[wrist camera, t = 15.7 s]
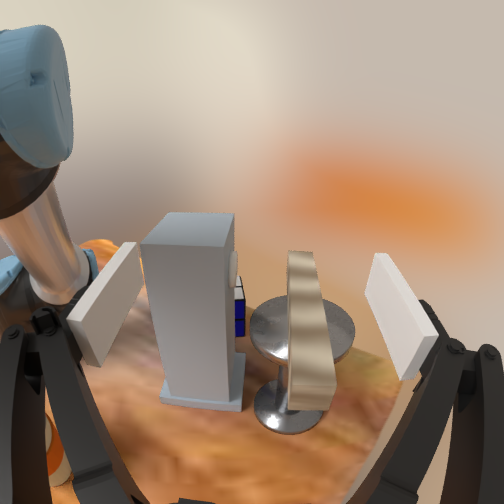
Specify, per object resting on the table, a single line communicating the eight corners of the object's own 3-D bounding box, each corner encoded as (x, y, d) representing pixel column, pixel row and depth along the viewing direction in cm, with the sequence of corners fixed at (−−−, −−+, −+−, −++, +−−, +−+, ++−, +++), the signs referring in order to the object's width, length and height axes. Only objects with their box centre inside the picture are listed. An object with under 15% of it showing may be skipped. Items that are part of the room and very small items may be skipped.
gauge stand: (241, 411, 45) (241, 249, 32) (161, 403, 45) (123, 244, 33) (245, 359, 57) (248, 212, 44) (177, 354, 57) (157, 211, 45)
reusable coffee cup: (11, 453, 27) (-38, 398, 21) (59, 424, 37) (20, 366, 30) (41, 507, 21) (-18, 463, 14) (96, 473, 30) (51, 423, 24)
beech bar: (328, 410, 25) (337, 385, 24) (287, 409, 26) (292, 384, 24) (309, 273, 51) (312, 252, 49) (286, 271, 51) (288, 250, 49)
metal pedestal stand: (231, 404, 46) (227, 320, 38) (286, 366, 55) (297, 284, 47) (290, 454, 37) (311, 380, 29) (343, 404, 46) (373, 323, 38)
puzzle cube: (199, 339, 62) (195, 301, 58) (199, 312, 71) (196, 276, 67) (245, 337, 63) (246, 299, 59) (240, 310, 72) (240, 274, 68)
